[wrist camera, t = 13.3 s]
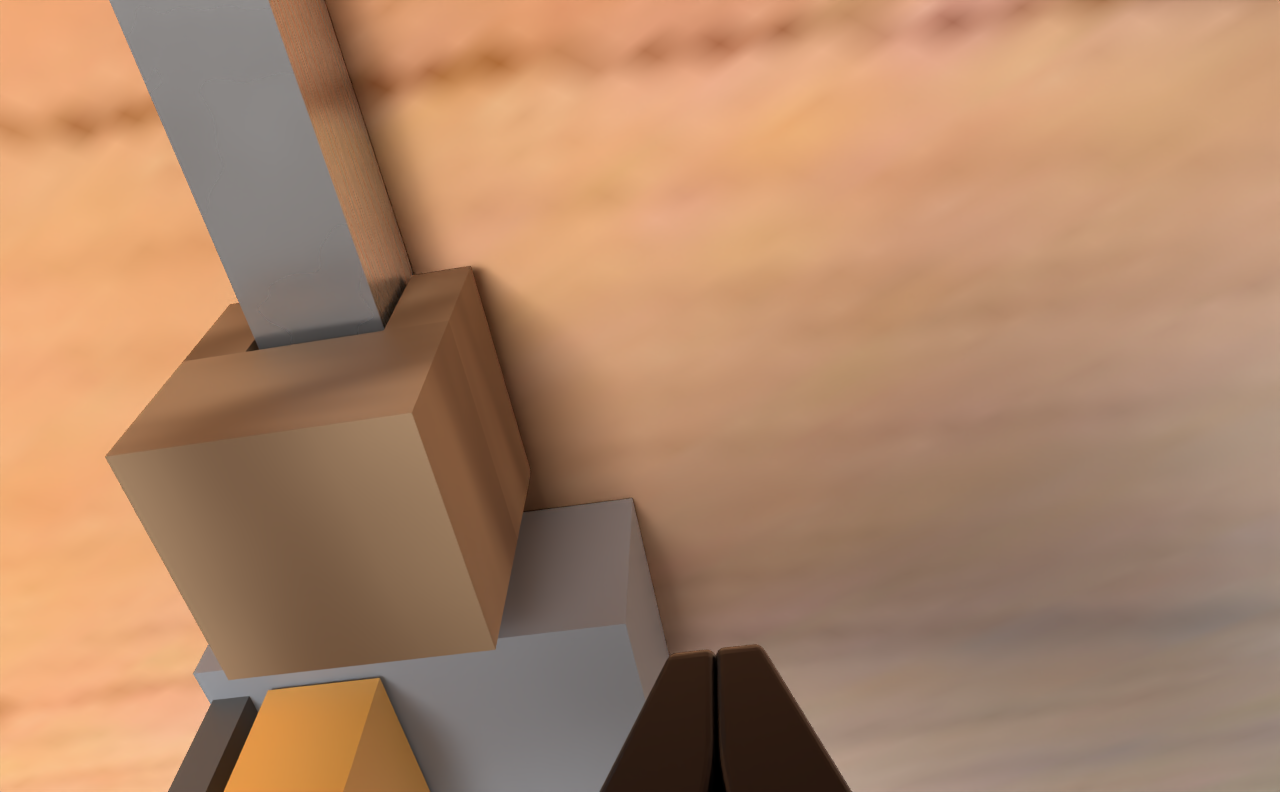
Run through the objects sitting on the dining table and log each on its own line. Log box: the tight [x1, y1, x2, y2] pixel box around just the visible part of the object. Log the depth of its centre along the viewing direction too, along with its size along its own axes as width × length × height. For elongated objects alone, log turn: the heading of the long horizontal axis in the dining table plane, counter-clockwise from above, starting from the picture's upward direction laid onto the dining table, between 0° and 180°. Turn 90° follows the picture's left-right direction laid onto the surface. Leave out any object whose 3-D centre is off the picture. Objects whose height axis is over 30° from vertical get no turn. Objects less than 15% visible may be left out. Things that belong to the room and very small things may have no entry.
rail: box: [110, 0, 413, 350], centre depth 19 cm, size 2×15×2 cm, turn 10°
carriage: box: [105, 266, 531, 680], centre depth 19 cm, size 5×5×5 cm
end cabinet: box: [168, 498, 669, 792], centre depth 22 cm, size 9×5×6 cm, turn 100°
